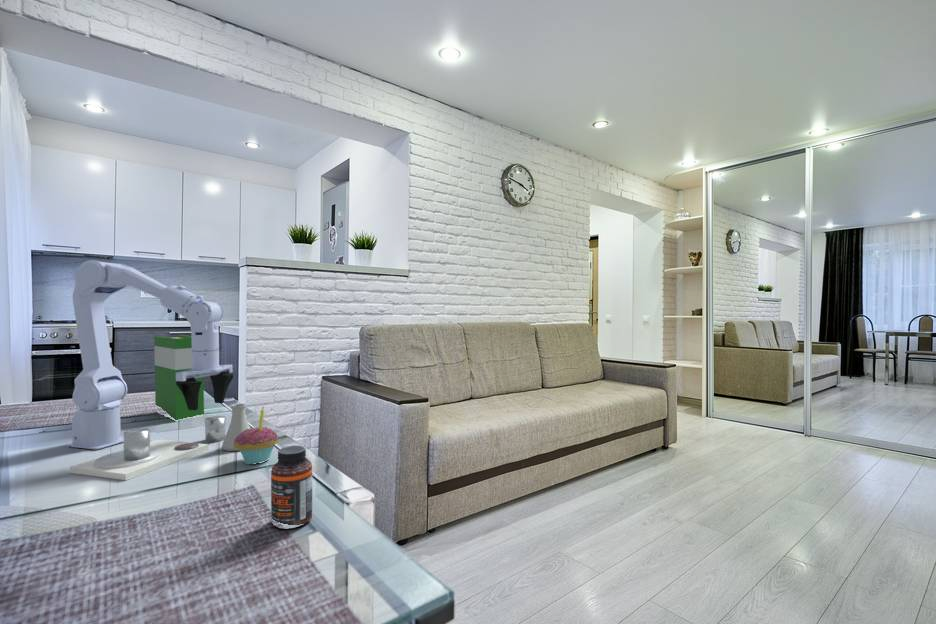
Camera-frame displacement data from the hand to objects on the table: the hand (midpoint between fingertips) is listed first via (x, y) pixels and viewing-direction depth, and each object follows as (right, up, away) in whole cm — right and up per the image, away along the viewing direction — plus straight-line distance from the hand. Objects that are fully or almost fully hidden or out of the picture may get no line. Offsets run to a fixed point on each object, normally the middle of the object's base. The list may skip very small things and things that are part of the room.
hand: (206, 406), depth 109 cm
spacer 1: (-6, -7, -15) cm, 18 cm away
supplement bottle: (+36, -10, -40) cm, 55 cm away
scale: (-7, -9, -12) cm, 16 cm away
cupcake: (+18, -9, -13) cm, 24 cm away
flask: (+10, -9, -3) cm, 14 cm away
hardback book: (-25, -9, +29) cm, 39 cm away
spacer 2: (+1, -9, +3) cm, 9 cm away
